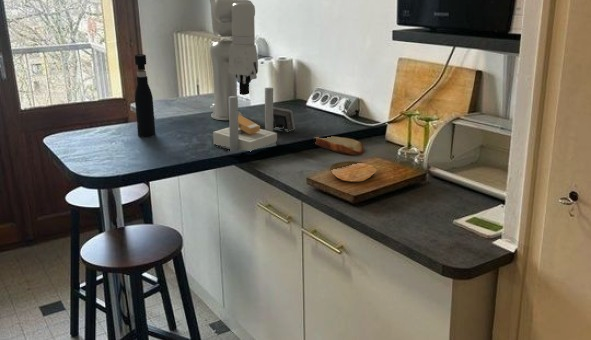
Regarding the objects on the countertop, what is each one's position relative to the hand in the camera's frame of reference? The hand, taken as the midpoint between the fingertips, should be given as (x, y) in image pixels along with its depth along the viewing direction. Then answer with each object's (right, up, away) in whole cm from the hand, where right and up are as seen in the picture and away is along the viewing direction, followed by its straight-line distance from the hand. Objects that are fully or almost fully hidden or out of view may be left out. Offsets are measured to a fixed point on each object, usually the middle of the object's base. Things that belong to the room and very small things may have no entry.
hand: (244, 93), depth 198 cm
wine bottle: (-38, -13, +17) cm, 44 cm away
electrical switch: (+13, -11, +25) cm, 30 cm away
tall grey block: (+8, -16, +11) cm, 21 cm away
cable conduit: (-3, -21, -2) cm, 21 cm away
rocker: (0, -10, +4) cm, 11 cm away
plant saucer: (+36, -29, -19) cm, 50 cm away
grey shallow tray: (0, -18, +7) cm, 19 cm away
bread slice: (+33, -19, +7) cm, 38 cm away
